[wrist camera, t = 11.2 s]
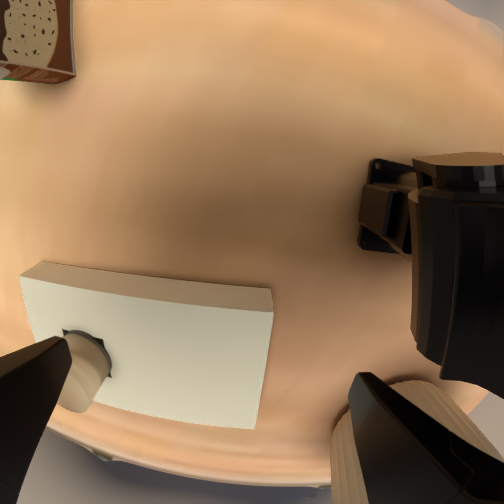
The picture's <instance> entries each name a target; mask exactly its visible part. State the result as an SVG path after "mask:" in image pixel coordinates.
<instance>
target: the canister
mask: <svg viewBox="0 0 504 504" xmlns="http://www.w3.org/2000/svg"><path fill="white" fill-rule="evenodd" d="M388 386H390V387H391V388H393V389H394V390H395V391H397V392H398V393H399V394H401V395H402V396H403V397H405V398H406V399H407V400H409V401H410V402H412V403H413V404H414V405H416V406H417V407H418V408H420V409H421V410H422V411H424V412H425V413H427V414H428V415H429V416H431V417H432V418H434V419H435V420H436V421H438V422H439V423H441V424H442V425H443V426H445V427H446V428H448V429H449V431H452V432H453V433H455V434H456V435H458V436H459V437H460V438H462V439H463V440H465V441H467V442H468V443H470V444H471V445H473V446H475V447H476V448H478V449H480V450H481V451H483V452H485V453H487V454H489V455H491V456H492V457H494V458H496V459H498V460H500V461H502V462H504V458H503V457H502V456H501V455H500V454H499V452H498V451H497V450H496V448H495V447H494V446H493V445H492V444H491V443H490V441H489V440H488V439H487V438H486V437H485V436H484V434H483V433H482V432H481V431H480V430H479V429H478V428H477V426H476V425H475V424H474V423H473V422H472V421H471V420H470V418H469V417H468V416H467V415H466V414H465V413H464V412H463V411H462V410H461V409H460V408H459V406H458V405H457V404H456V403H455V402H454V401H453V400H452V399H451V398H450V397H449V396H448V395H447V394H446V393H445V392H444V391H443V390H441V389H440V388H439V387H437V386H435V385H433V384H432V383H429V382H425V381H421V380H417V381H416V380H410V381H402V382H400V383H399V382H397V383H395V384H393V385H388ZM330 462H331V489H332V504H369V503H368V498H367V493H366V489H365V484H364V480H363V475H362V471H361V467H360V463H359V458H358V454H357V450H356V446H355V442H354V437H353V429H352V421H351V414H350V409H349V410H348V412H347V413H345V414H344V415H343V416H342V418H341V419H340V420H339V422H338V423H337V426H336V427H335V429H334V431H333V435H332V438H331V443H330Z"/></svg>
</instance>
